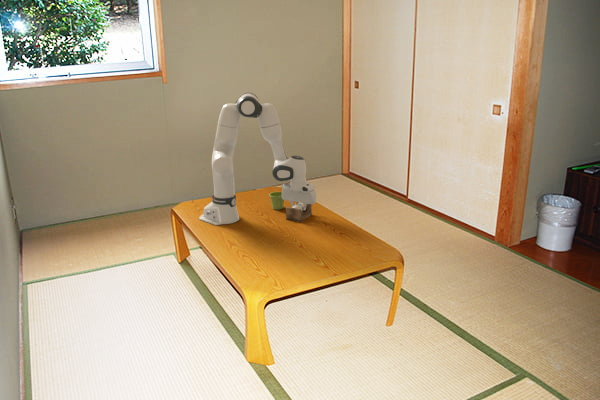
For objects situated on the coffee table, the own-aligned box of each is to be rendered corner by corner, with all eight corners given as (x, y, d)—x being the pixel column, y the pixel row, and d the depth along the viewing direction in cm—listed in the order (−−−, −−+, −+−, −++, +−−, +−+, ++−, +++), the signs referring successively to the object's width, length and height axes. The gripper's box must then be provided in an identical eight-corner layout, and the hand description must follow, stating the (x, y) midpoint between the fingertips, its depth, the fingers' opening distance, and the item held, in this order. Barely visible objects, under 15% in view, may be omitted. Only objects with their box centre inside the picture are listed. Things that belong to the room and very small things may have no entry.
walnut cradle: (286, 219, 290) (285, 207, 287) (297, 212, 300) (297, 200, 298) (300, 222, 285) (300, 210, 283) (311, 214, 296) (311, 202, 294)
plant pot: (267, 207, 309) (266, 193, 306) (282, 204, 313) (281, 190, 310) (273, 212, 301) (272, 197, 298) (288, 209, 305) (288, 195, 302)
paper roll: (299, 215, 287) (299, 206, 286) (291, 214, 290) (291, 205, 288) (306, 210, 294) (306, 202, 293) (298, 209, 297) (298, 200, 295)
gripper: (278, 184, 289) (279, 208, 294) (312, 189, 280) (312, 214, 284) (284, 181, 294) (285, 204, 299) (317, 186, 285) (317, 210, 289)
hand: (298, 209), depth 291 cm, fingers closed on paper roll, 5 cm apart
